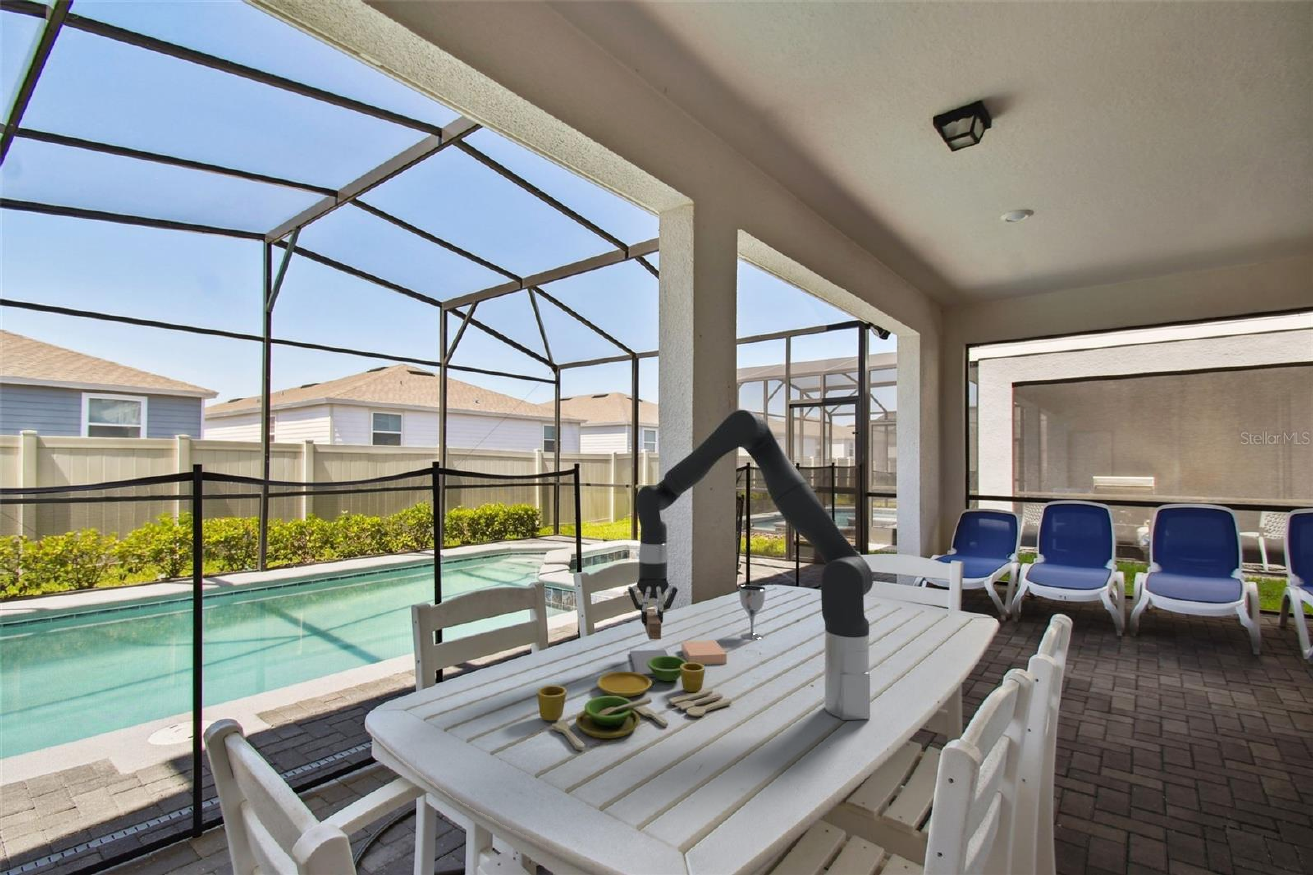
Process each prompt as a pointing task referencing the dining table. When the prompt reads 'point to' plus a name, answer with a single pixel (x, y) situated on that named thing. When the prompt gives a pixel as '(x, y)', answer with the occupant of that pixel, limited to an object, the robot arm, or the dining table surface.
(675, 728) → the dining table surface
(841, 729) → the dining table surface
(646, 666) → the rubber mat
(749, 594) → the wine glass
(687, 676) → the tableware set
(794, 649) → the dining table surface
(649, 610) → the walnut stick
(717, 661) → the terracotta tile
